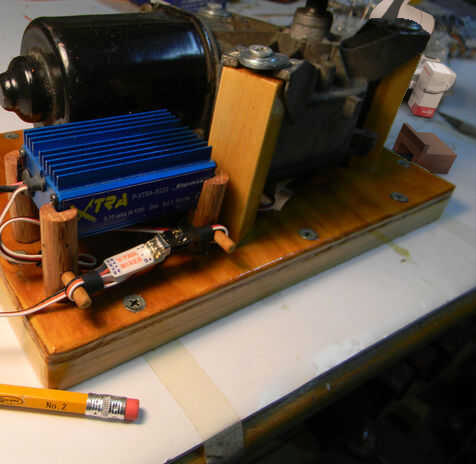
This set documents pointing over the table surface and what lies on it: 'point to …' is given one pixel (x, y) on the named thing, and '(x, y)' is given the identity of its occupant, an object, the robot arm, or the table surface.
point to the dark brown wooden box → (425, 149)
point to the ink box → (429, 89)
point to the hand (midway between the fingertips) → (429, 86)
